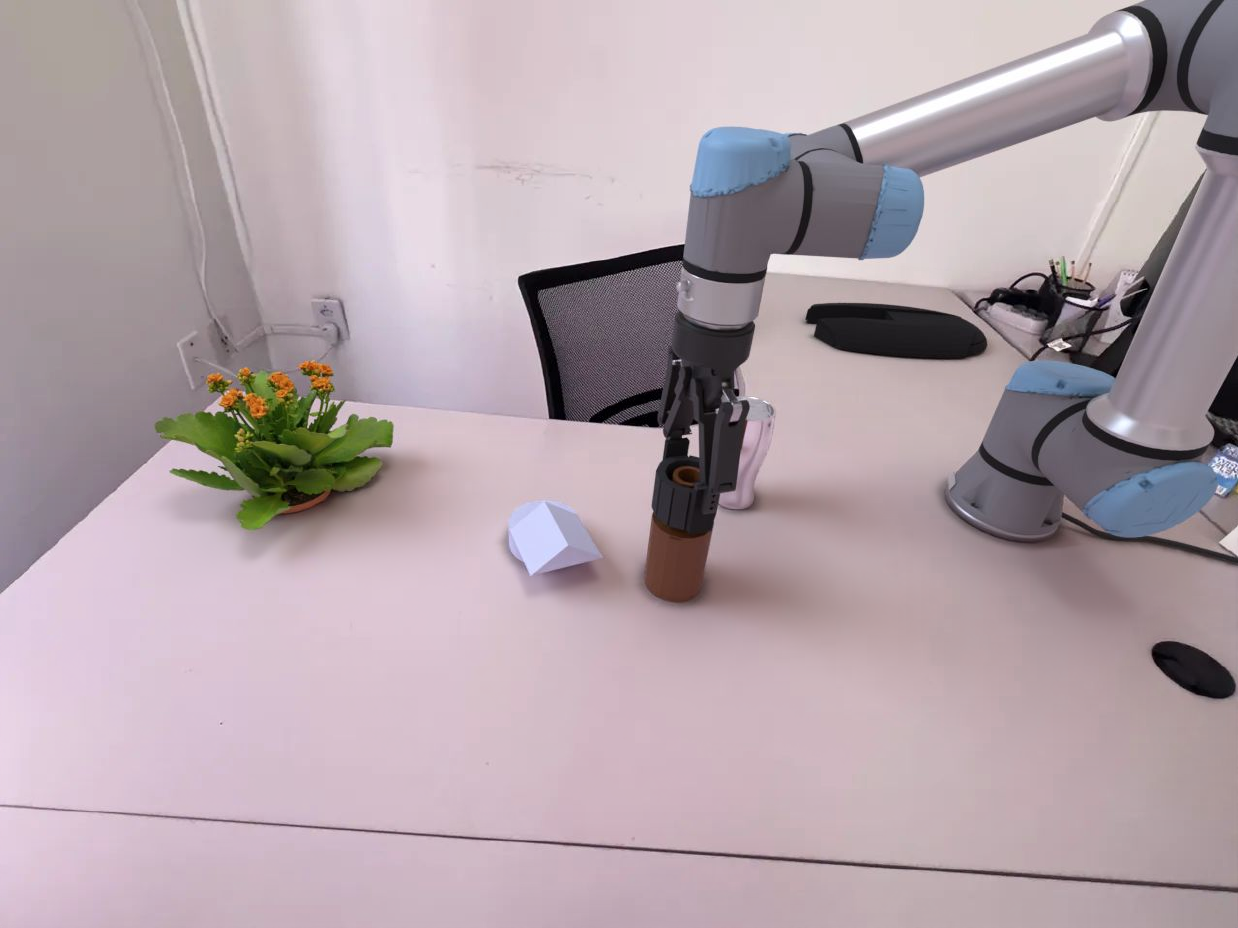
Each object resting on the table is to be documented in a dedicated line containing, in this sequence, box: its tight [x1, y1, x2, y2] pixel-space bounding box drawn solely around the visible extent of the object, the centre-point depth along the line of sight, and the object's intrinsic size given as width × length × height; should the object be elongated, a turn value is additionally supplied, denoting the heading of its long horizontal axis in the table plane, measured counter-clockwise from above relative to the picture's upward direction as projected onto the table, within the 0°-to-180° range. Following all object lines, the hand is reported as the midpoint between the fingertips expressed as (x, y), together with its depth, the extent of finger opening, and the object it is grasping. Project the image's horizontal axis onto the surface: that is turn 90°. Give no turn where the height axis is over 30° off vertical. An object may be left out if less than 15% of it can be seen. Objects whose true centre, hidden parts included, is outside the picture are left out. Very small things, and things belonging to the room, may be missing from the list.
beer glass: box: [718, 395, 777, 510], centre depth 91 cm, size 7×7×15 cm
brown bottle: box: [644, 466, 715, 603], centre depth 75 cm, size 7×7×16 cm
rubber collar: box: [651, 454, 719, 530], centre depth 72 cm, size 7×7×5 cm
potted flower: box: [153, 360, 395, 531], centre depth 83 cm, size 25×24×18 cm
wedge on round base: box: [507, 499, 604, 577], centre depth 81 cm, size 9×7×13 cm
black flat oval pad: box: [804, 302, 988, 359], centre depth 149 cm, size 25×40×5 cm, turn 89°
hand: (684, 507), depth 73 cm, fingers closed on rubber collar, 7 cm apart
